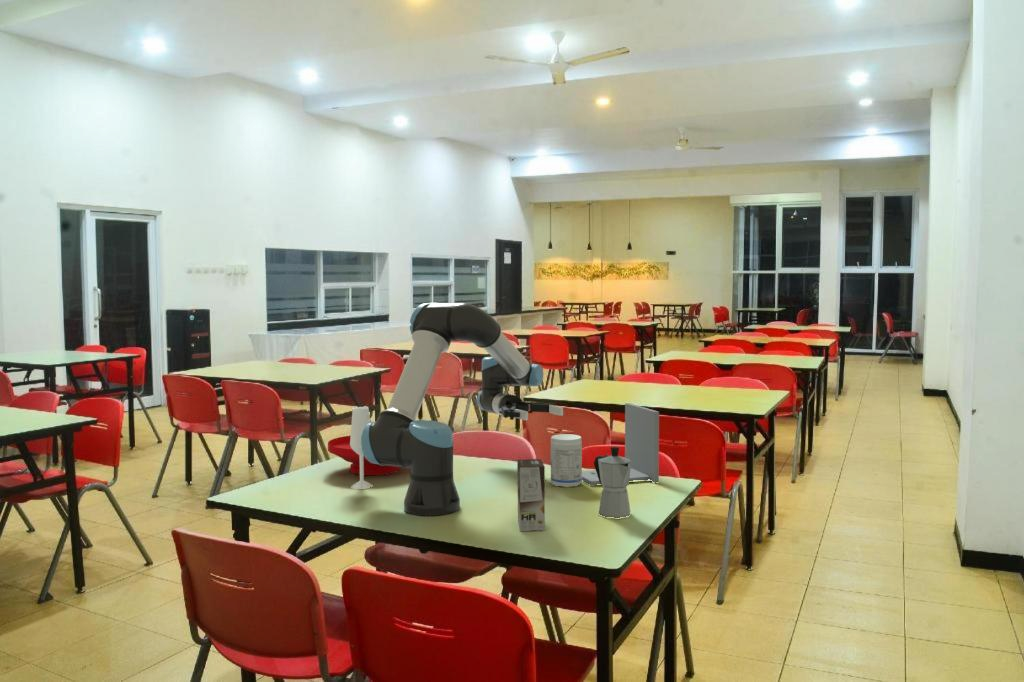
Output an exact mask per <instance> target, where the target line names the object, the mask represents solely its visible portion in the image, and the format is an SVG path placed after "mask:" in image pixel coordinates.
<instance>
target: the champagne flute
mask: <svg viewBox="0 0 1024 682" xmlns="http://www.w3.org/2000/svg"><path fill="white" fill-rule="evenodd" d="M351 412H352V413H351V427H350V435H351V437H350V446H351V448H352V449H353V450H354V451H355V452H356V453H357V454H359V455H360V474H359V480H358V481H356V482H355V483H354V484H353V485H351V486H350V488H351V489H354V490H367V489H370V487H371V488H373V487H374V485H373V484H372V483H370V482H368V481H366V480H365V475H364V460H363V455H364V454H363V451H362V446H361V436H362V432H363V429H364V427H365V426H366V425H367V424H369V423H370V422H371V418H370V409H369V407H367V406H357V407H352V411H351Z"/></svg>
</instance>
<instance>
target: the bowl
mask: <svg viewBox="0 0 1024 682" xmlns="http://www.w3.org/2000/svg"><path fill="white" fill-rule="evenodd" d="M350 437H351V434H350V435H345V436H341V437H340V436H339V437H336V438H332V439H330V440H328V442H327V451H328V453H330V454H333V455H334V456H337V457H338V458H341V459H342V460H344V461H346V462H348V463H351V464H350V469H349V470H350V472H351V473H352V474H355V475H360V455H359V454H357V453H356V452H355V451H354V450H353V449H352V448H351V446H350ZM363 460H364V476H383V475H389V473H390V474H393V472H394V473H397V472H398V471H400V467H396V466H381V465H379V464H373V463H371V462H369V461H368V460H367V459H366V458H365V456H364V455H363ZM396 471H397V472H396Z"/></svg>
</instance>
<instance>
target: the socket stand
mask: <svg viewBox="0 0 1024 682" xmlns="http://www.w3.org/2000/svg"><path fill="white" fill-rule="evenodd" d="M624 458H628V459H629V460H631V461H632V462H631V469H630V477H629V481H633V480H648V479H650V480H652V481H653V482H659V478H660V477H659V476H660V475H659V474H660V473H659V471H660V469H659V466H660V459H659V458H660V411H657V410H654V409H650V408H647V407H644V406H640V405H637V404H633V403H625V402H624ZM582 480H583V481H584V482H586V483H588V484H590V485H597V484H600V481H599V478H598V475H597V472H596V469H587V470H582ZM584 482H583V483H584ZM586 483H585V484H586ZM659 483H660V482H659ZM588 484H587V485H588Z"/></svg>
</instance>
